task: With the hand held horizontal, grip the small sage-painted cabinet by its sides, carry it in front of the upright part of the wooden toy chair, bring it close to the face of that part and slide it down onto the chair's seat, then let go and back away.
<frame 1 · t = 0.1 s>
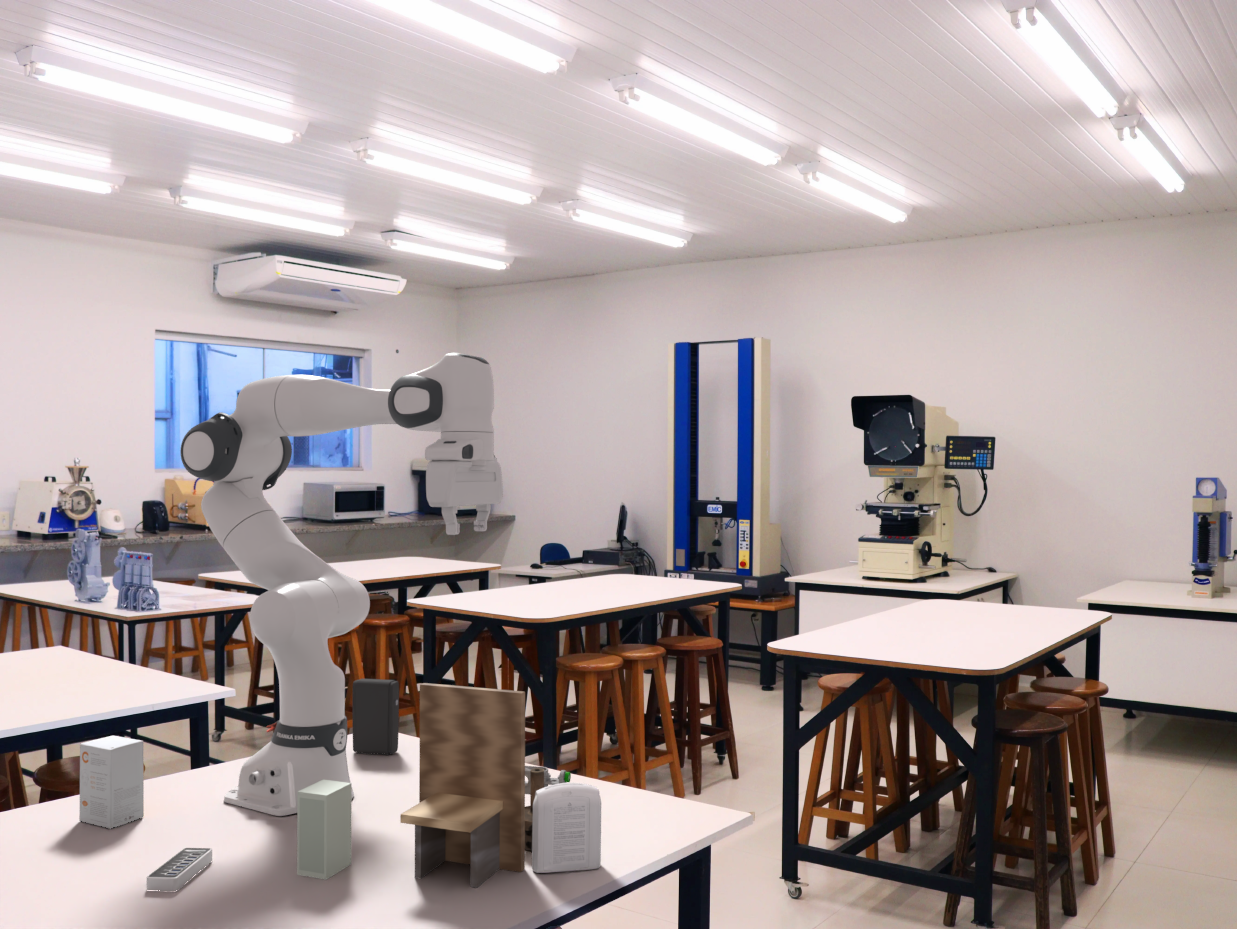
hand: (466, 532, 166), 48 cm above the table, tool pointing down, fingers open, 8 cm apart
mechanical component: (538, 832, 161), on the table
dark grey upright block: (376, 753, 205), on the table
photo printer: (566, 869, 146), on the table
sage cabinet: (324, 869, 145), on the table
multiport hub: (180, 879, 143), on the table
small box: (111, 821, 166), on the table
industrial component: (537, 850, 153), on the table
wooden toy chair: (471, 862, 148), on the table
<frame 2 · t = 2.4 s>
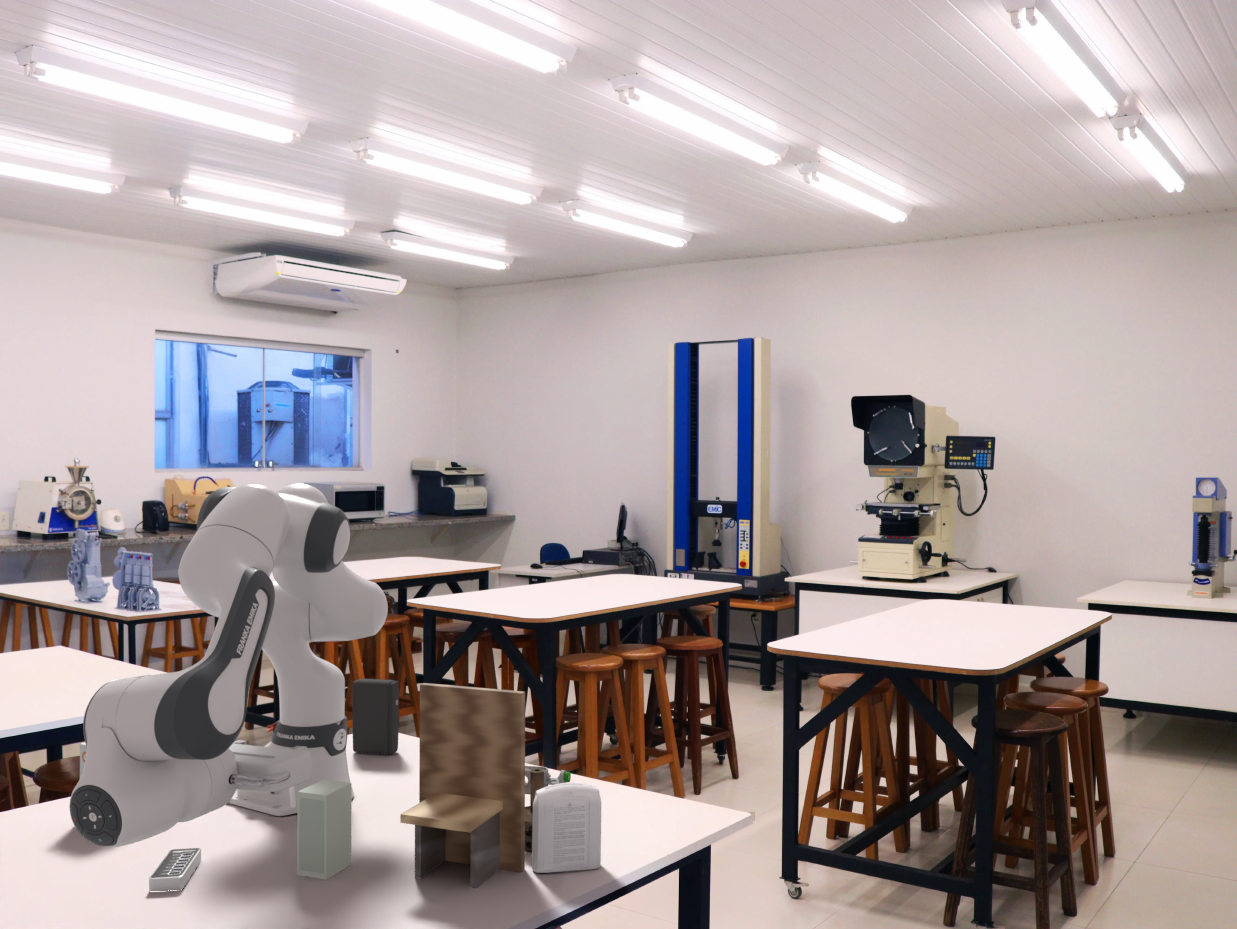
hand: (273, 749, 134), 21 cm above the table, tool horizontal, fingers open, 8 cm apart
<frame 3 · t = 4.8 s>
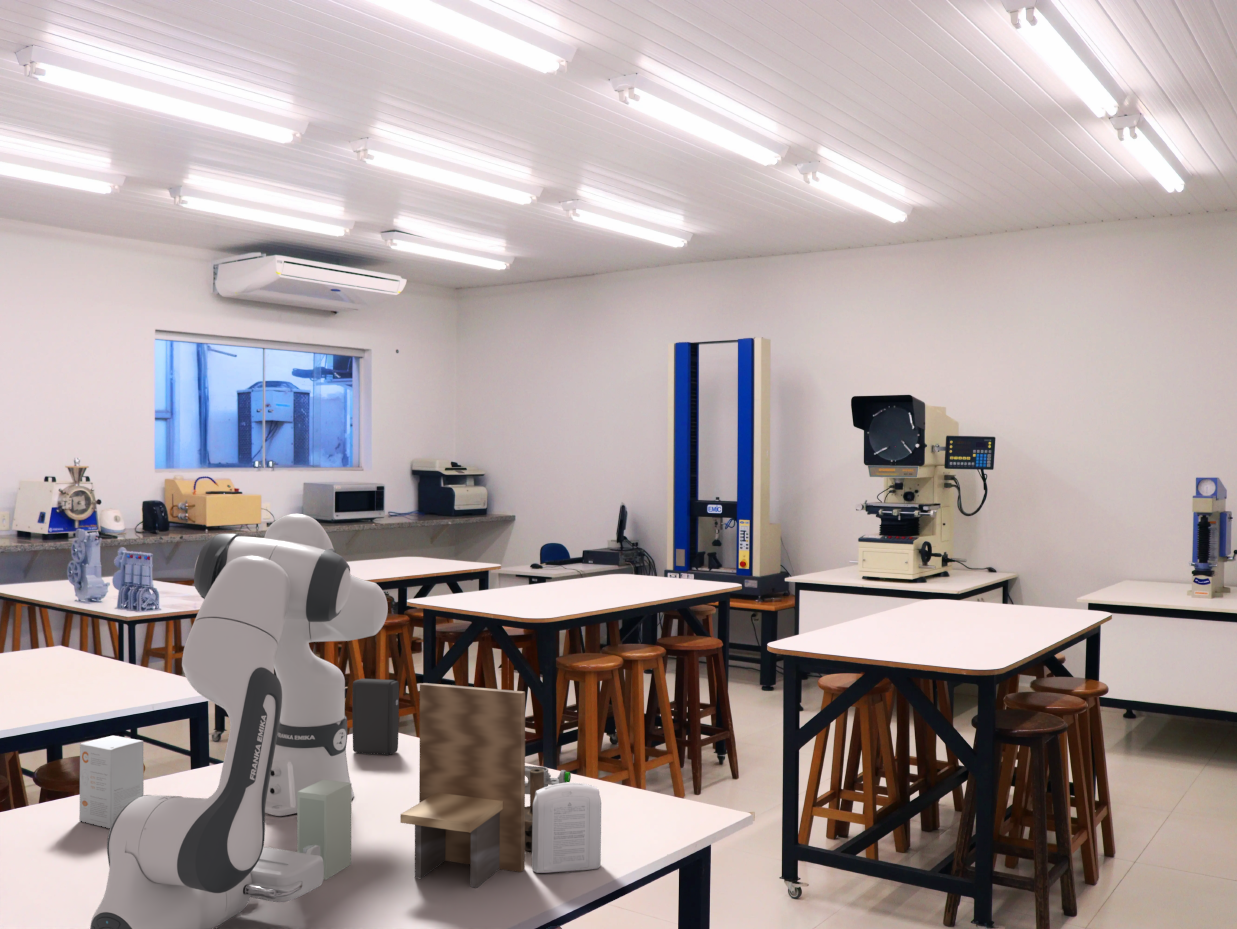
hand: (287, 845, 138), 6 cm above the table, tool horizontal, fingers open, 8 cm apart
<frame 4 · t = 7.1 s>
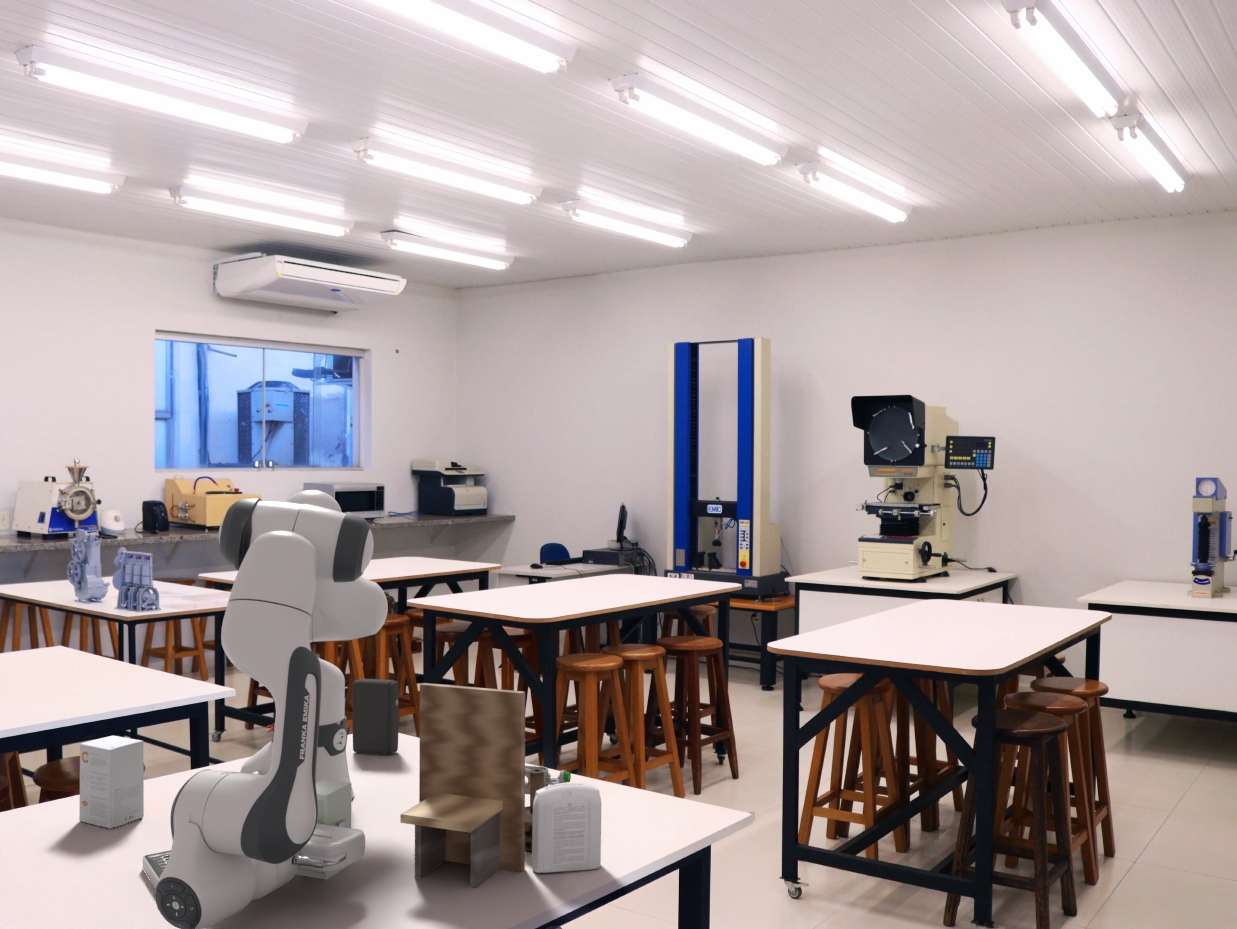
hand: (328, 822, 146), 7 cm above the table, tool horizontal, fingers closed on sage cabinet, 5 cm apart
sage cabinet: (324, 869, 145), on the table, touching gripper
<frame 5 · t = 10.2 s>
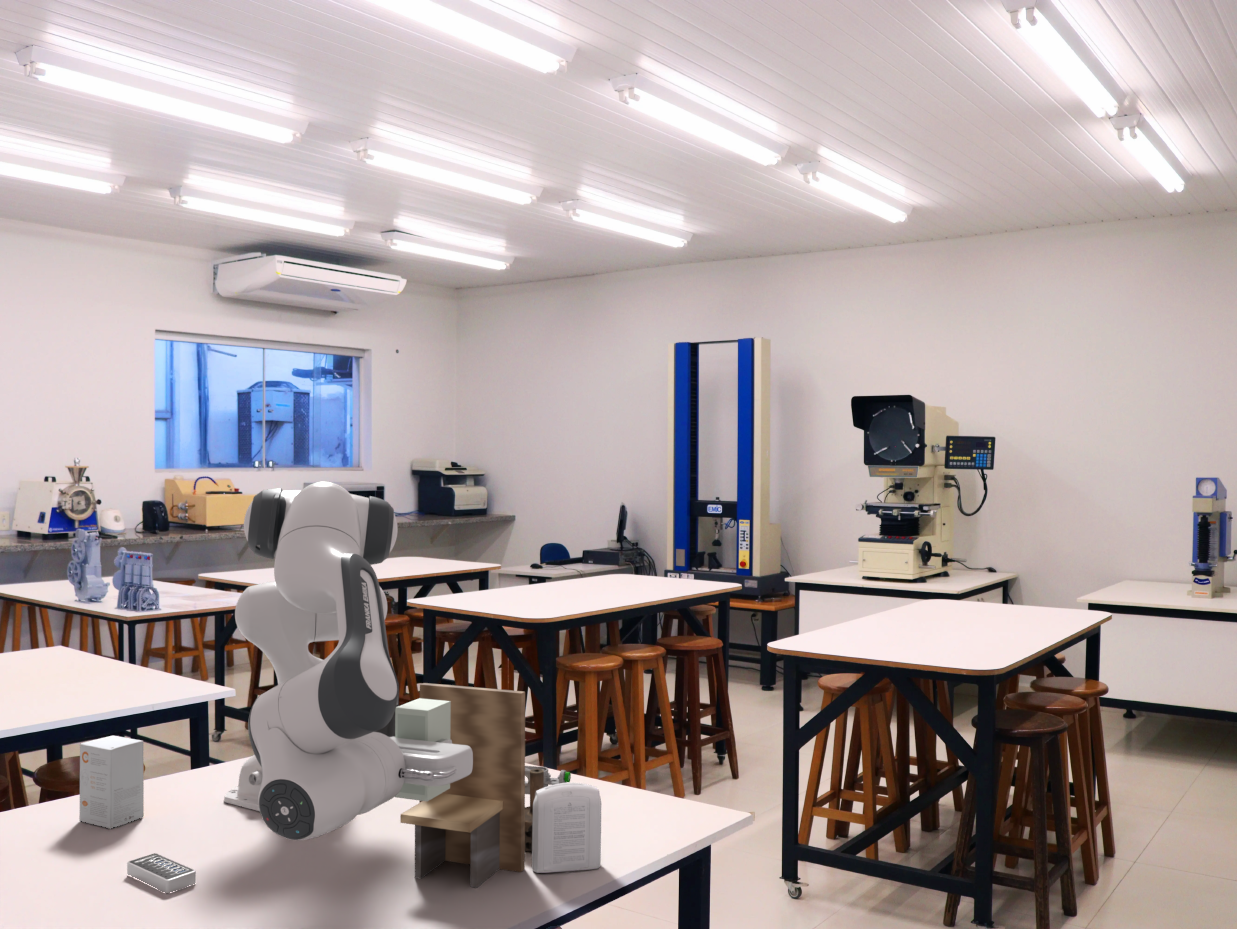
hand: (426, 742, 136), 21 cm above the table, tool horizontal, fingers closed on sage cabinet, 5 cm apart
sage cabinet: (422, 792, 135), point 15 cm above the table, touching gripper
when the fingers open (17 cm above the table, at t = 13.6 s): sage cabinet stays where it is, resting on wooden toy chair.
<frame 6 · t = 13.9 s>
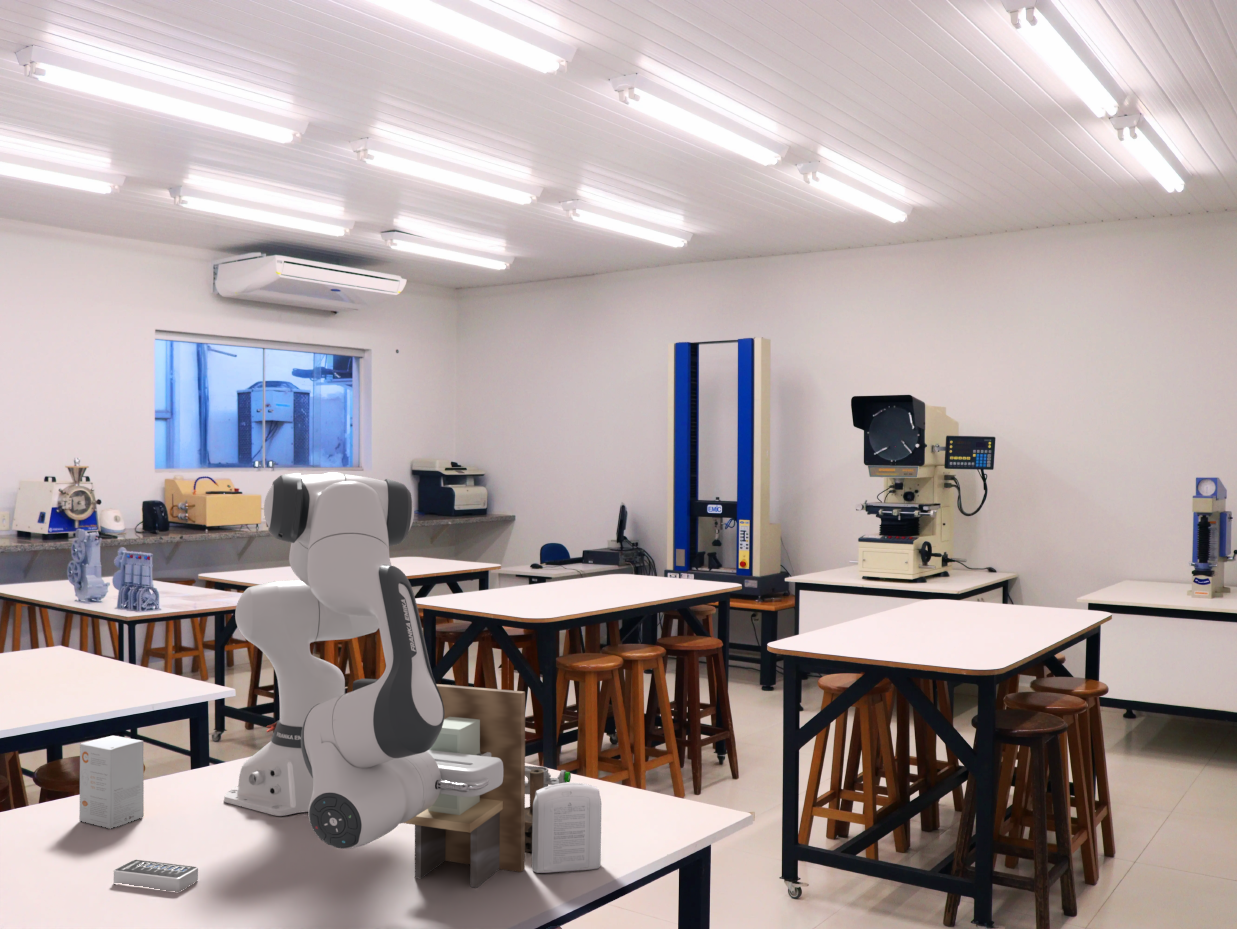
hand: (457, 754, 144), 17 cm above the table, tool horizontal, fingers open, 8 cm apart
sage cabinet: (454, 806, 143), point 10 cm above the table, touching wooden toy chair
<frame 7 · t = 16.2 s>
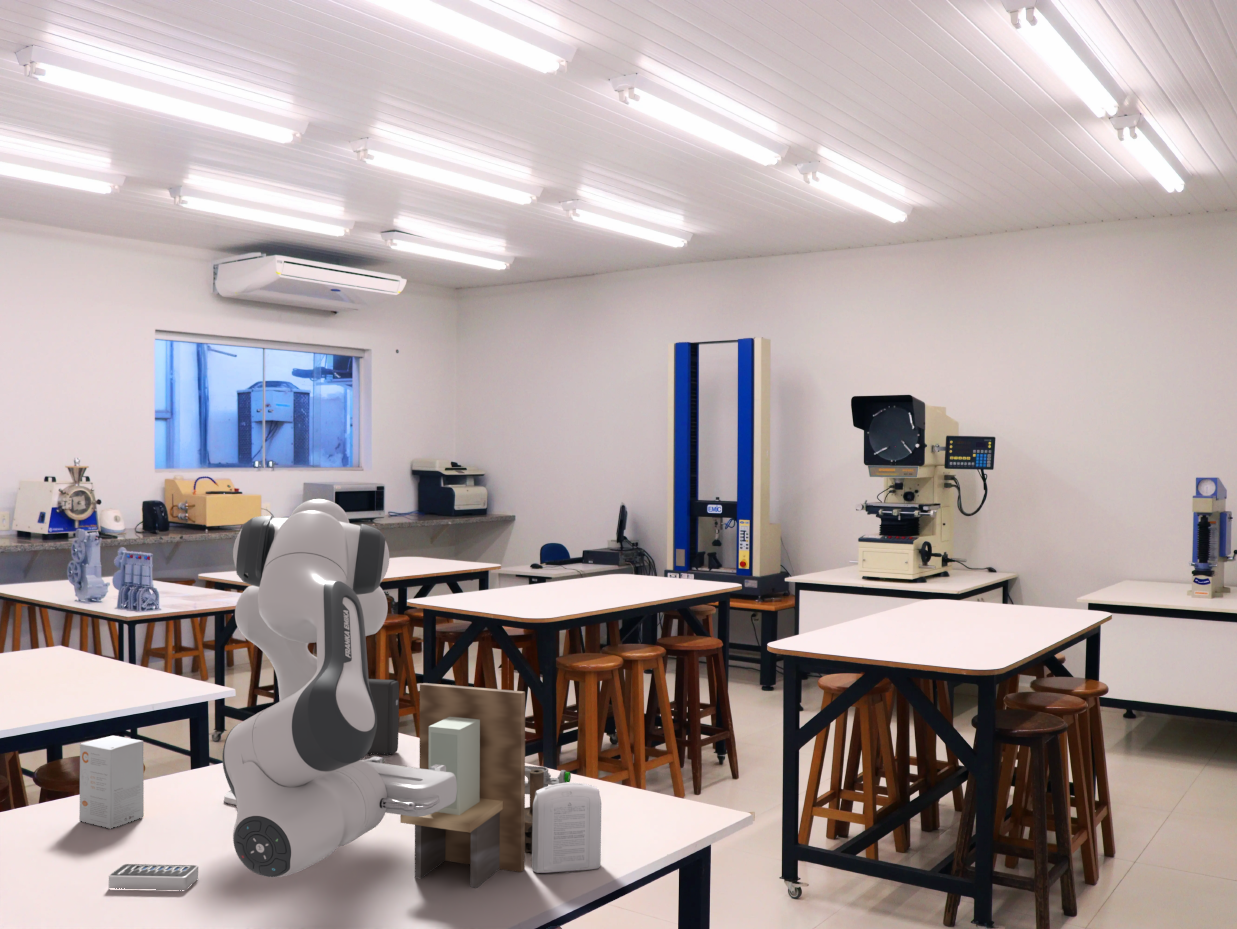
hand: (410, 766, 133), 19 cm above the table, tool horizontal, fingers open, 8 cm apart
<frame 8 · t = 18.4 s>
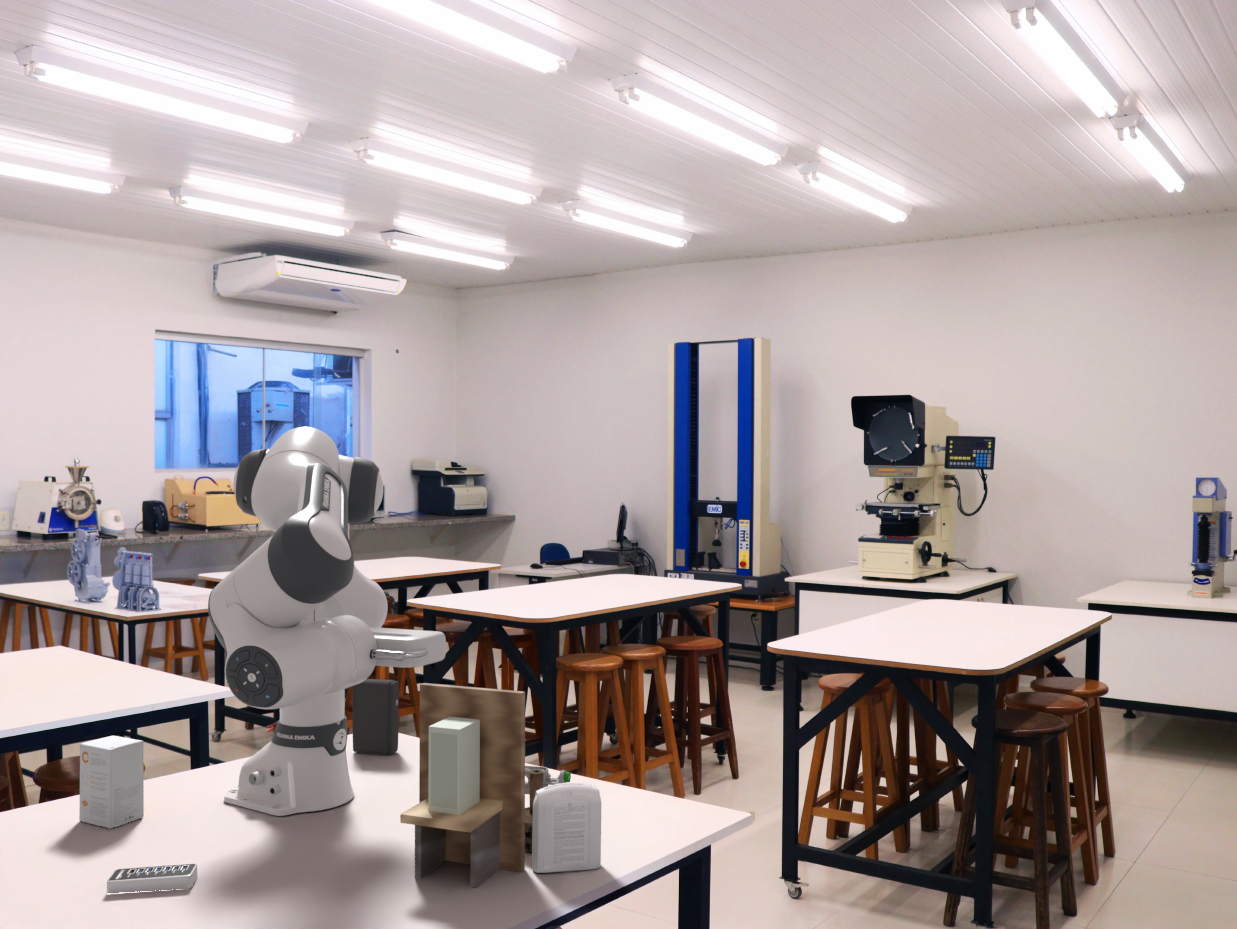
hand: (401, 635, 135), 36 cm above the table, tool horizontal, fingers open, 8 cm apart
at the end: sage cabinet inside the target area (0.4 cm from its centre), point 10.0 cm above the table; sage cabinet tilted 0°; the gripper is holding nothing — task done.
